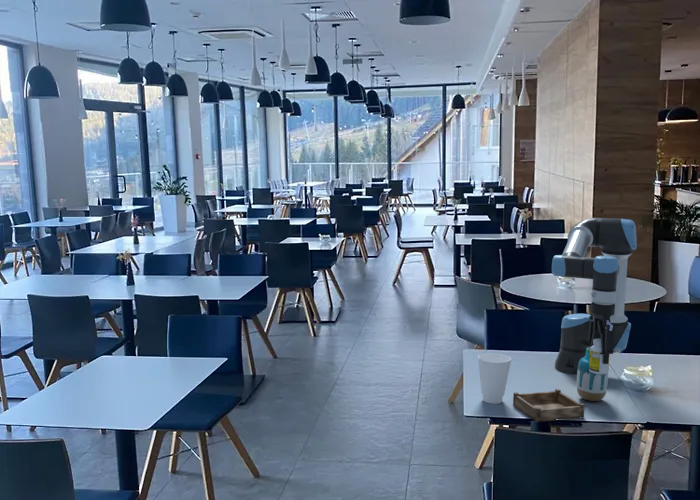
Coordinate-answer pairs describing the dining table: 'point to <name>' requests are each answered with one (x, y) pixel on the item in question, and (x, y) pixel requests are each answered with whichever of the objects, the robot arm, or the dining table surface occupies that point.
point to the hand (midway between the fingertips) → (598, 369)
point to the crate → (548, 406)
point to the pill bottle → (595, 357)
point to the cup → (493, 376)
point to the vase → (590, 381)
